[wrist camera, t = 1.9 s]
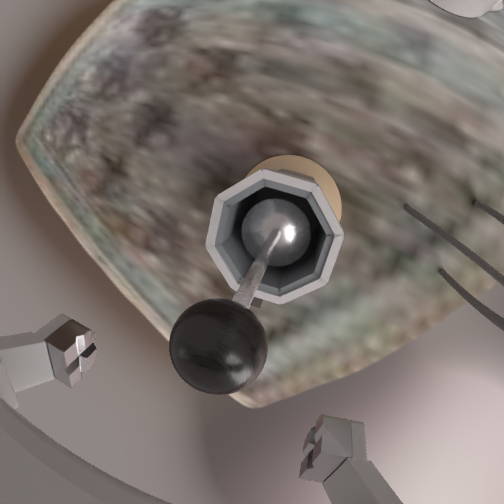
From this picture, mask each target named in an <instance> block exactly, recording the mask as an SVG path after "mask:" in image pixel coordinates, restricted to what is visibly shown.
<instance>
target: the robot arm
mask: <svg viewBox="0 0 504 504" xmlns="http://www.w3.org/2000/svg"><path fill="white" fill-rule="evenodd" d="M430 1H431V2H433V3H434V4H436V5H437V6H439V7H441V8H443V9H444V10H446V11H449V12H451V13H453V14H456V15H459V16H463V17H478V16H481V15H483V14H484V13H486V12H488V11H500V10H501V9H502V8H503V3H502V0H430ZM95 340H96V338H95V332H93V331H92V330H90V329H89V328H87V327H85V326H84V325H82V324H80V323H78V322H77V321H75V320H73V319H71V318H69V317H68V316H66V315H64V314H60V315H58V316H57V317H56V318H54V319H53V320H51V321H50V322H49V323H47V324H46V325H45V326H43V327H42V328H41V329H39V330H38V331H37V332H36V333H32V332H28V333H22V334H16V335H9V336H3V337H0V504H171V503H169V502H166V501H164V500H162V499H159V498H157V497H154V496H152V495H150V494H148V493H145V492H143V491H141V490H139V489H137V488H135V487H133V486H131V485H128V484H126V483H124V482H123V481H120V480H119V479H117V478H115V477H113V476H111V475H109V474H107V473H106V472H104V471H102V470H100V469H98V468H97V467H95V466H93V465H91V464H90V463H88V462H86V461H85V460H83V459H82V458H80V457H79V456H77V455H75V454H74V453H72V452H71V451H69V450H68V449H66V448H65V447H63V446H62V445H60V444H59V443H57V442H56V441H55V440H53V439H52V438H50V437H49V436H47V435H46V434H45V433H44V432H42V431H41V430H40V429H38V428H37V427H36V426H34V425H33V424H32V423H31V422H29V421H28V420H27V419H26V418H24V417H23V416H22V415H21V414H20V413H18V412H17V411H16V410H15V409H16V408H17V407H18V406H19V401H18V398H17V396H16V394H15V392H18V391H21V390H24V389H27V388H30V387H33V386H36V385H39V384H42V383H45V382H48V381H50V380H53V379H54V378H56V379H57V380H59V381H61V382H62V383H64V384H65V385H67V386H69V387H70V388H73V386H74V385H75V384H76V383H77V382H78V381H79V380H80V379H81V378H82V372H85V371H89V370H90V369H91V367H92V366H93V365H94V363H95V361H96V357H97V349H96V347H95V345H94V343H93V342H94V341H95ZM366 451H367V450H366V434H365V424H364V423H363V422H359V421H353V420H348V419H343V418H338V417H333V416H328V415H323V414H321V415H320V416H319V417H318V418H317V420H316V426H315V427H313V428H311V429H310V431H309V432H308V434H307V436H306V439H305V442H304V446H303V454H304V455H305V458H304V460H303V461H302V462H301V467H300V475H299V478H301V479H306V480H310V481H316V482H321V483H322V484H323V486H324V488H325V491H326V493H327V495H328V497H329V499H330V501H331V503H332V504H403V503H402V502H401V500H400V499H399V498H398V496H397V495H396V494H395V492H394V491H393V490H392V488H391V487H390V486H389V484H388V483H387V482H386V480H385V479H384V478H383V476H382V475H381V474H380V473H379V471H378V470H377V468H376V467H375V466H374V464H373V463H372V462H371V461H368V460H367V452H366Z"/></svg>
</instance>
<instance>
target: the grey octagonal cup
mask: <svg viewBox="0 0 504 504" xmlns="http://www.w3.org/2000/svg"><path fill="white" fill-rule="evenodd" d="M269 198H283V199H287V200H289V201H292V202H293V203H295V204H297V205H298V206H299V207H300V208H301V209H302V210H303V211H304V212H305V214H306V215H307V217H308V220H309V222H310V227H311V238H310V243H309V246H308V248H307V250H306V252H305V253H304V254H303V256H302V257H301V258H300V259H298V260H297V261H295V262H294V263H291V264H289V265H285V266H270V265H268V266H267V268H266V270H265V273H264V275H263V277H262V279H261V282H260V284H259V286H258V288H257V291H256V293H255V295H254V297H253V300H252V302H251V304H250V305H252V306H255V307H258V308H260V307H261V304H262V301H263V300H266V301H270V302H273V303H276V304H279V305H280V303H281V304H284V303H286V302H288V301H291V300H293V299H295V298H297V297H300V296H302V295H304V294H306V293H309V292H311V291H313V290H315V289H318V288H320V287H322V286H324V285H326V283H328V280H329V277H330V275H331V272H332V269H333V266H334V264H335V261H336V258H337V255H338V253H339V250H340V247H341V244H342V241H343V238H344V232H343V229H342V227H341V225H340V223H339V222H340V218H341V211H342V206H341V197H340V194H339V190H338V188H337V186H336V184H335V182H334V180H333V179H332V177H331V176H330V175H329V173H328V172H327V171H326V170H325V169H324V168H323V167H322V166H320V165H319V164H317V163H316V162H314V161H312V160H310V159H307V158H305V157H301V156H297V155H280V156H275V157H272V158H269V159H267V160H265V161H263V162H261V163H259V164H258V165H256V166H255V167H254V168H253V169H252V170H251V171H250V172H249V173H248V174H247V176H246V177H245V179H243V180H242V181H240V182H238V183H237V184H235V185H234V186H232V187H230V188H229V189H227V190H225V191H224V192H222V193H220V194H219V195H217V196H216V198H215V200H214V205H213V210H212V214H211V219H210V224H209V229H208V234H207V239H206V245H205V246H207V247H206V249H207V251H208V252H209V254H210V255H211V257H212V259H213V260H214V262H215V263H216V265H217V267H218V268H219V270H220V271H221V273H222V274H223V276H224V278H225V279H226V281H227V282H228V284H229V285H230V287H231V289H232V288H234V289H233V290H235V291H237V290H238V288H239V287H240V285H241V283H242V281H243V280H244V278H245V276H246V274H247V273H248V271H249V269H250V267H251V266H252V264H253V262H254V260H255V258H254V257H253V256H252V255H251V254H250V253H249V252H248V250H247V249H246V247H245V245H244V242H243V239H242V224H243V221H244V218H245V216H246V215H247V213H248V212H249V211H250V209H251V208H252V207H254V206H255V205H256V204H257V203H259V202H261V201H263V200H266V199H269Z"/></svg>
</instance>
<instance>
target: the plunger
mask: <svg viewBox="0 0 504 504" xmlns="http://www.w3.org/2000/svg"><path fill="white" fill-rule="evenodd" d="M310 238H311V227H310V222H309V220H308V217H307V215H306V214H305V212H304V211H303V210H302V209H301V208H300V207H299V206H298V205H297V204H295V203H293V202H292V201H289V200H287V199H283V198H269V199H266V200H263V201H261V202H259V203H257V204H256V205H255V206H254V207H252V208H251V209H250V211H249V212H248V213H247V215H246V216H245V218H244V221H243V224H242V239H243V242H244V245H245V247H246V249H247V250H248V252H249V253H250V254H251V255H252V256H253V257H254V258H255V260H254V262H253V264H252V266H251V267H250V269H249V271H248V273H247V274H246V276H245V278H244V280H243V281H242V283H241V285H240V287H239V288H238V290H237V292H236V294H235V295H234V297H233V299H232V300H228V299H218V298H217V299H207V300H203V301H201V302H198V303H196V304H194V305H192V306H191V307H189V308H188V309H186V310H185V311H184V312H183V313H182V314H181V315H180V316H179V318H178V319H177V321H176V322H175V324H174V326H173V329H172V331H171V335H170V340H169V352H170V357H171V360H172V364H173V366H174V368H175V370H176V371H177V373H178V374H179V376H180V377H181V378H182V379H183V380H184V381H185V382H186V383H187V384H189V385H190V386H191V387H193V388H195V389H196V390H199V391H201V392H204V393H207V394H213V395H225V394H231V393H234V392H237V391H240V390H242V389H244V388H245V387H247V386H248V385H250V384H251V383H252V382H253V381H254V380H255V379H256V378H257V377H258V375H259V374H260V372H261V371H262V369H263V367H264V364H265V361H266V358H267V351H268V346H267V337H266V334H265V331H264V328H263V326H262V324H261V322H260V321H259V320H258V318H257V317H256V316H255V315H254V313H253V312H251V311H250V310H249V306H250V304H251V302H252V300H253V297H254V295H255V293H256V291H257V288H258V286H259V284H260V282H261V279H262V277H263V275H264V273H265V270H266V268H267V266H268V265H270V266H285V265H289V264H291V263H294V262H295V261H297V260H298V259H300V258H301V257H302V256H303V254H304V253H305V252H306V250H307V248H308V246H309V243H310Z"/></svg>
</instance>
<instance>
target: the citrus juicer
mask: <svg viewBox="0 0 504 504" xmlns="http://www.w3.org/2000/svg"><path fill="white" fill-rule="evenodd" d="M474 206H476V207H478V208H480V209H482V210H483V211H485V212H487V213H488V214H490V215H491V216H493V217H494V218H496V219H497V220H498V221H500V222H501V223H502V224H504V216H503V215H502V214H500V213H499V212H497V211H496V210H494V209H492V208H491V207H489V206H487V205H485V204H483V203H481V202H479V201H475V202H474ZM405 211H407V212H408V213H409V214H411V215H412V216H413V217H415V218H416V219H417V220H419V221H420V222H422V223H423V224H424V225H426V226H427V227H428V228H430V229H431V230H433V231H434V232H435V233H437V234H438V235H440V236H441V237H442V238H444V239H445V240H446V241H448V242H449V243H450V244H452V245H453V246H454V247H456V248H457V249H458V250H459V251H461V252H462V253H463V254H465V255H466V256H467V257H468V258H470V259H471V260H472V261H474V262H475V263H476V264H477V265H479V266H480V267H481V268H482V269H483V270H485V271H486V272H487V273H488V274H490V275H491V276H492V277H493V278H494V279H496V280H497V281H498V282H499V283H500V284H502V285H503V286H504V276H503V275H502V274H500V273H499V272H498V271H497V270H495V269H494V268H493V267H492V266H490V265H489V264H488V263H487V262H485V261H484V260H483V259H482V258H480V257H479V256H478V255H477V254H475V253H474V252H473V251H471V250H470V249H469V248H467V247H466V246H465V245H463V244H462V243H461V242H459V241H458V240H457V239H455V238H454V237H453V236H451V235H450V234H449V233H447V232H446V231H444V230H443V229H442V228H440V227H439V226H437V225H436V224H435V223H433V222H432V221H430V220H429V219H427V218H426V217H425V216H423V215H422V214H420V213H419V212H417V211H416V210H414V209H413V208H411V207H410V206H409V205H407V206H405ZM440 274H441V275H442V276H443V278H444V279H445V280H446V281H447V282H448V283H449V284H450V285H451V286H452V287H453V288H454V289H455V290H456V291H457V292H458V293H459V294H460V295H461V296H462V297H463V298H464V299H465V300H467V301H468V302H469V303H470V304H471V305H472V306H473V307H474V308H475V309H477V310H478V311H479V312H480V313H481V314H483V315H484V316H485V317H486V318H487V319H489V320H490V321H491V322H492V323H494V324H495V325H496V326H498V327H499V328H500V329H502V330H503V331H504V318H502V317H501V316H499V315H498V314H496V313H494V312H493V311H492V310H490V309H489V308H488V307H486V306H485V305H483V304H482V303H481V302H479V301H478V300H477V299H476V298H474V297H473V296H472V295H471V294H469V293H468V292H467V291H466V290H465V289H464V288H463V287H461V286H460V285H459V284H458V283H457V282H456V281H455V280H454V279H453V278H452V277H451V276H450V275H449V274H448V273H447V272H446V271H445V270H444V269H442V270H441V271H440Z"/></svg>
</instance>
